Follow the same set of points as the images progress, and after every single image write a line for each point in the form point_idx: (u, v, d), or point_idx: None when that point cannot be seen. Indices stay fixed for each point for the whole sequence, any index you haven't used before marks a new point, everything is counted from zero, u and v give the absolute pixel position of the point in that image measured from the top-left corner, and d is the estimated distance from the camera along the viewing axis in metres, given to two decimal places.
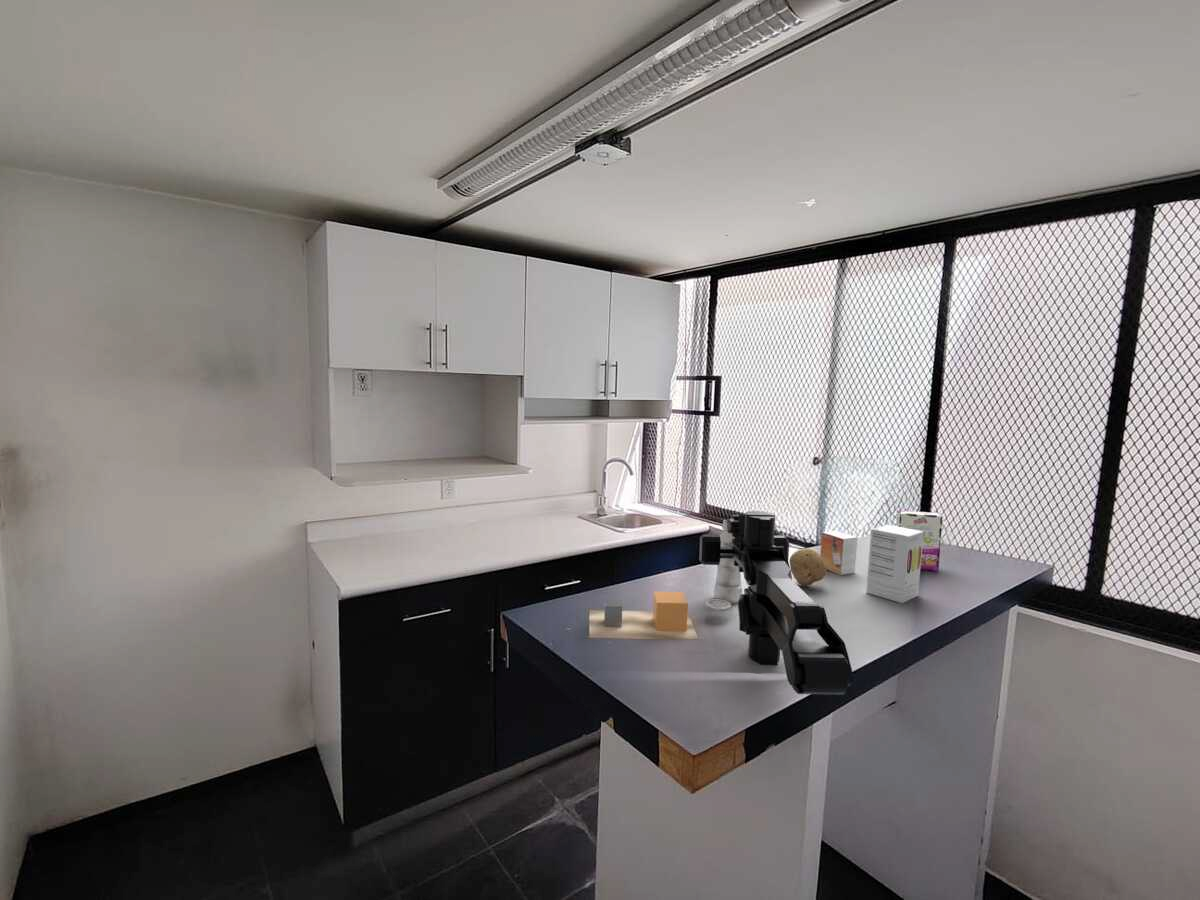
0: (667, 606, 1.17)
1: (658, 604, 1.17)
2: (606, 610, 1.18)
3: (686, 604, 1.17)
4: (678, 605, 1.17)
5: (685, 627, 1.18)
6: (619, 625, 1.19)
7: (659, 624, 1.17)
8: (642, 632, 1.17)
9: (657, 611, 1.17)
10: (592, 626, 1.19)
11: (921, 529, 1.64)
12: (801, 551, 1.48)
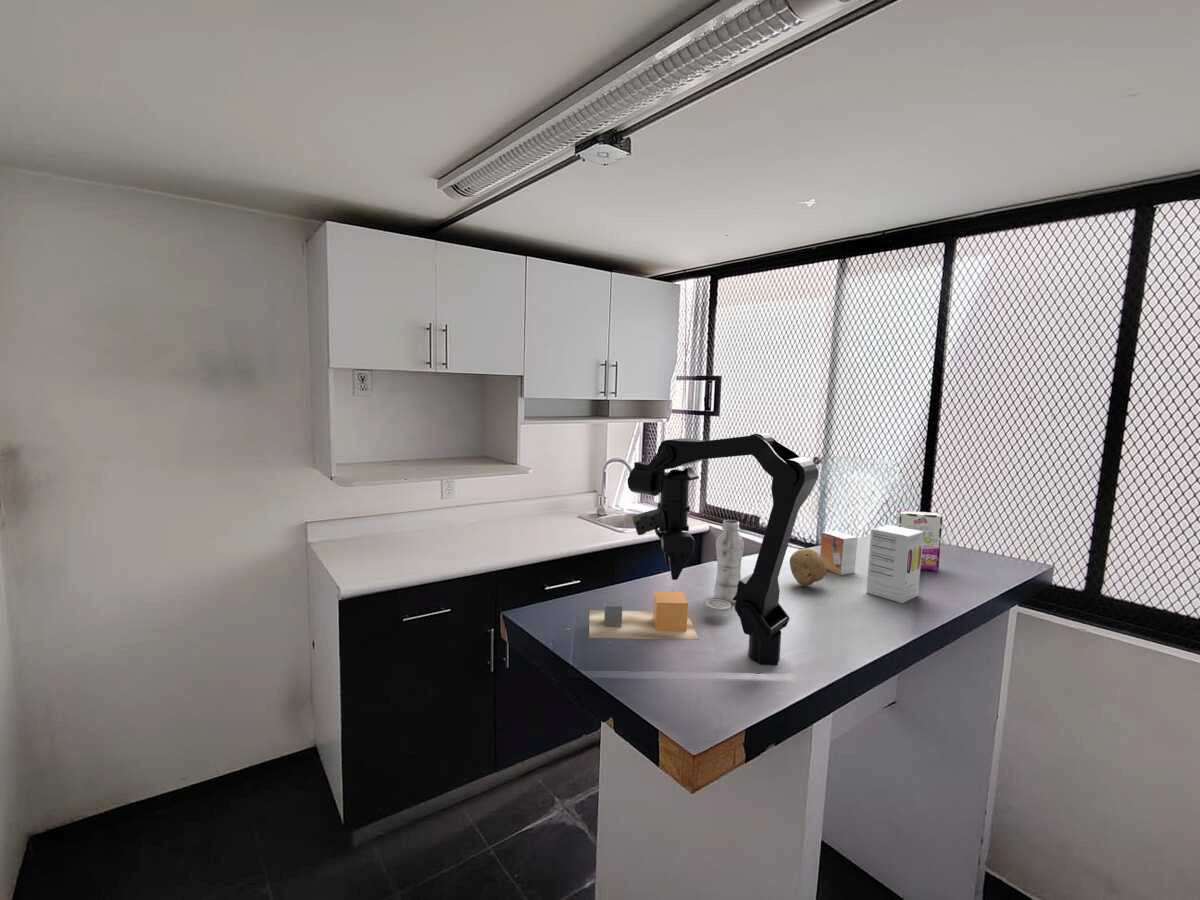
0: (667, 606, 1.17)
1: (658, 604, 1.17)
2: (606, 610, 1.18)
3: (686, 604, 1.17)
4: (678, 605, 1.17)
5: (685, 627, 1.18)
6: (619, 625, 1.19)
7: (659, 624, 1.17)
8: (642, 632, 1.17)
9: (657, 611, 1.17)
10: (592, 626, 1.19)
11: (921, 529, 1.64)
12: (801, 551, 1.48)
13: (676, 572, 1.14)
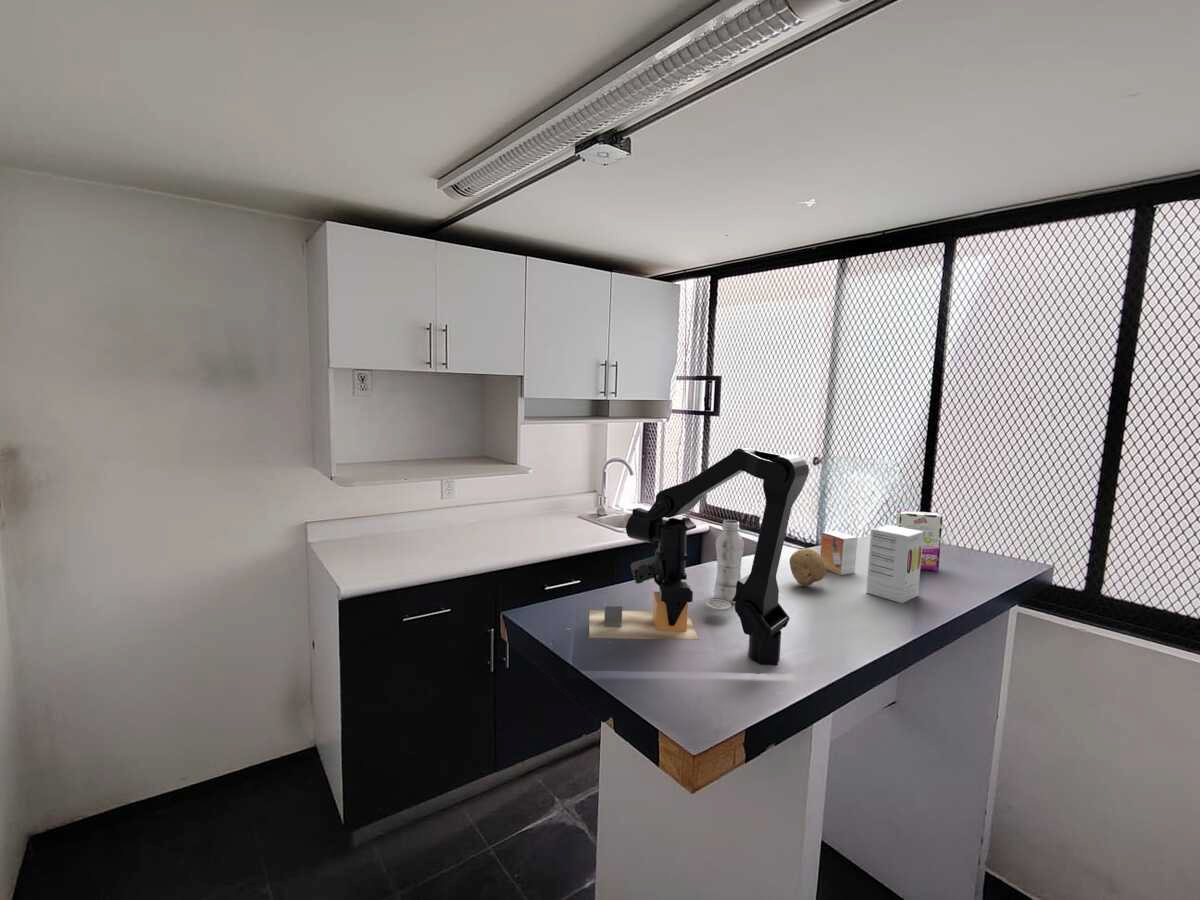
0: None
1: (658, 604, 1.17)
2: (606, 610, 1.18)
3: (686, 604, 1.17)
4: None
5: (685, 627, 1.18)
6: (619, 625, 1.19)
7: (659, 624, 1.17)
8: (642, 632, 1.17)
9: (657, 611, 1.17)
10: (592, 626, 1.19)
11: (921, 529, 1.64)
12: (801, 551, 1.48)
13: (673, 618, 1.16)
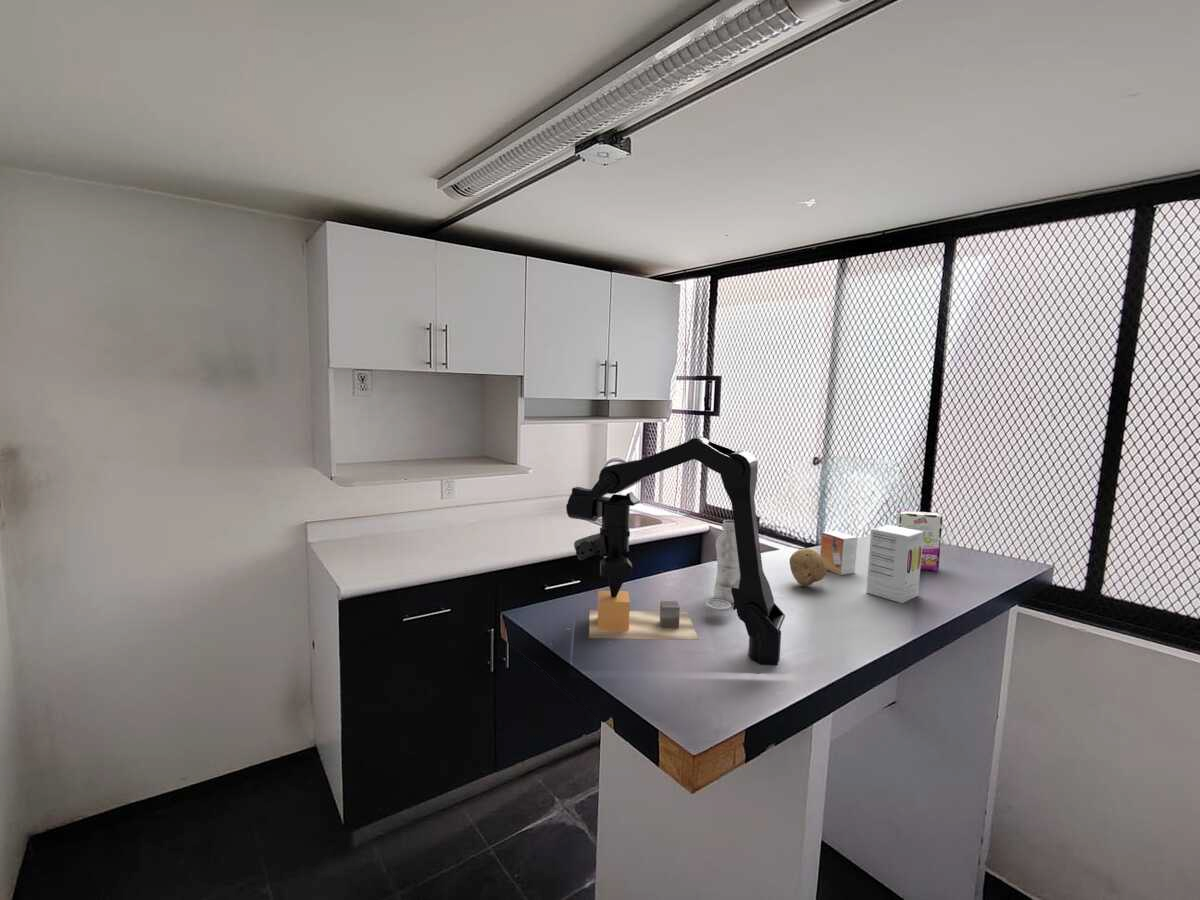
0: (609, 605, 1.17)
1: (600, 603, 1.17)
2: None
3: (628, 603, 1.17)
4: (620, 604, 1.17)
5: (627, 626, 1.17)
6: None
7: (601, 623, 1.17)
8: (642, 632, 1.17)
9: (599, 610, 1.17)
10: (592, 626, 1.19)
11: (921, 529, 1.64)
12: (801, 551, 1.48)
13: (615, 589, 1.19)
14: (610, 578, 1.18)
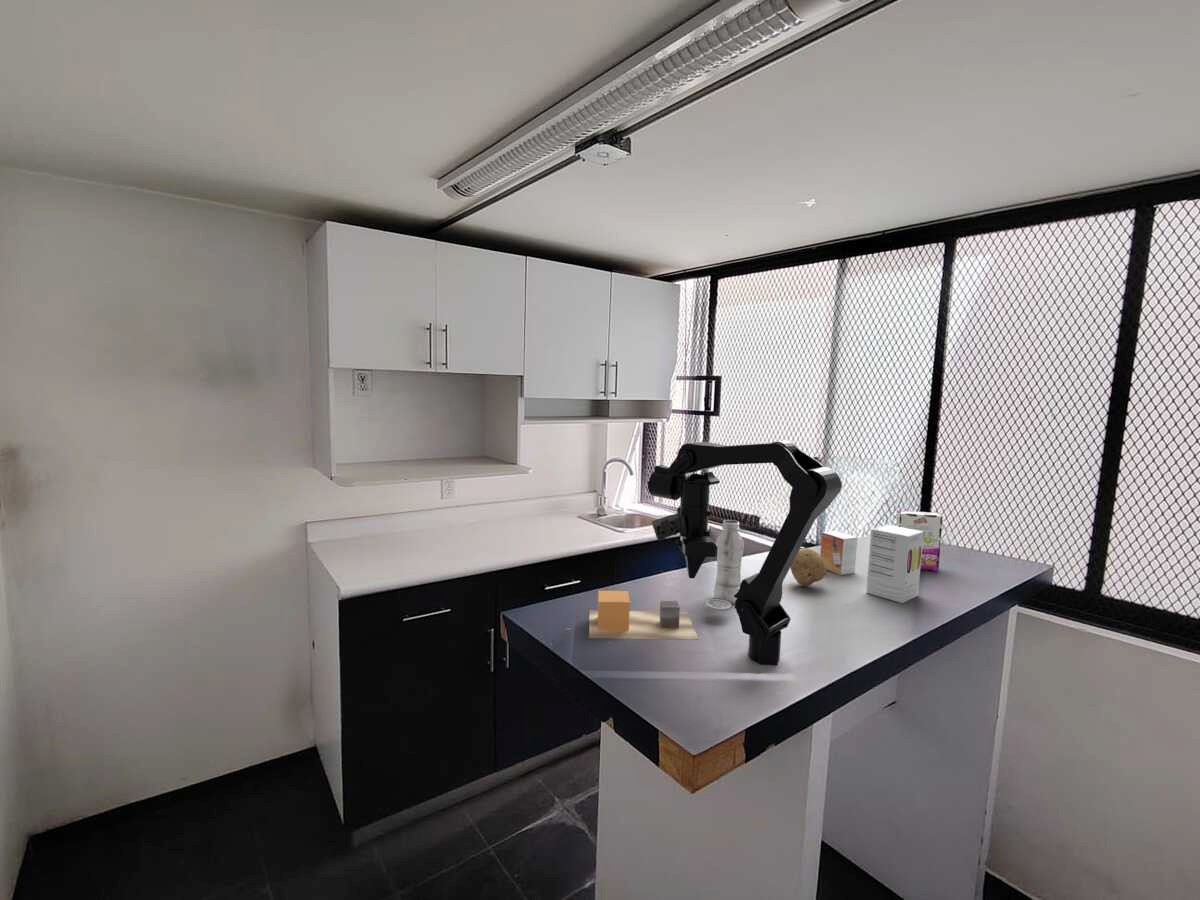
0: (609, 605, 1.17)
1: (600, 603, 1.17)
2: None
3: (628, 603, 1.17)
4: (620, 604, 1.17)
5: (627, 626, 1.17)
6: None
7: (601, 623, 1.17)
8: (642, 632, 1.17)
9: (599, 610, 1.17)
10: (592, 626, 1.19)
11: (921, 529, 1.64)
12: (801, 551, 1.48)
13: (693, 570, 1.17)
14: (689, 559, 1.15)
